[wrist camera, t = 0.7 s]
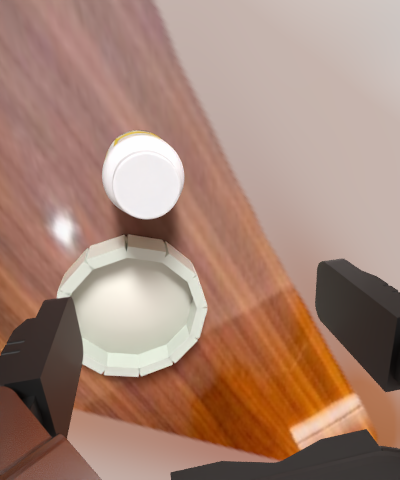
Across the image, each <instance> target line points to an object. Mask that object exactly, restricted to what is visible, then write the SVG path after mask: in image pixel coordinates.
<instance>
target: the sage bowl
mask: <svg viewBox="0 0 400 480" xmlns="http://www.w3.org/2000/svg"><path fill="white" fill-rule="evenodd" d="M64 297H72V299H73V302H74V305H75V310H76V314H77V319H78V323H79V328H80V332H81V337H82V342H83V362H82V364H83V365H85V366H87V367H89V368H91V369H92V370H94V371H96V372H98V373H100V374H102V373H103V372H104V375H111V376H129V377H138V376H139V373H140V375H141V376H144V375H147V374H149V373H152V372H155V371H157V370H160V369H163V368H165V367H168V366H171V365H173V362H174V363H176V362H177V361H178V360H179V359H180V358H181V357H182V356H183V355H184V354H185V353H186V352H187V351H188V350H189V349H190V348H191V347H192V346H193V345H194V344H195V343H196V342H197V341H198V339H197V338H200V334H201V330H202V327H203V323H204V320H205V316H206V312H207V303H206V300H205V297H204V294H203V291H202V288H201V285H200V282H199V279H198V276H197V274H196V271H195V269H194V267H193V264H192V263H191V261H190V260H189V259H187V258H186V257H185V256H184V255H182V254H181V253H180V252H179V251H177V250H176V249H175V248H174V247H172V246H171V245H170V244H169V243H167V242H166V241H165V242H163V240H161V239H155V238H149V237H142V236H136V235H130V234H128V236H125V235H122V236H119V237H116V238H113V239H110V240H107V241H104V242H101V243H98V244H95V245H92V246H90V248H89V249H88V248H87V249H86V250H85V251H84V252H83V254H82V255H81V256H80V257H79V258H78V259H77V260H76V261H75V263H74V264H73V265H72V266H71V267H70V268H69V269H68V271H67V272H66V273H65V274H64V277H63V279H62V282H61V284H60V287H59V290H58V293H57V298H64ZM172 361H173V362H172Z"/></svg>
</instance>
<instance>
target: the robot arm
mask: <svg viewBox="0 0 400 480" xmlns="http://www.w3.org/2000/svg"><path fill="white" fill-rule="evenodd" d="M315 306H316V311H317V314H318V317H319V319H320V320H321V322H322V323H323V324H324V325H325V326H326V327H327V328H328V329H329V330H330V331H331V333H332V334H333V335H334V336H335V337H336V338H337V339H338V340H339V341H340V343H341V344H342V345H343V346H344V347H345V348H346V349H347V350H348V351H349V352H350V354H351V355H352V356H353V357H354V358H355V359H356V360H357V361H358V362H359V363H360V365H361V366H362V367H363V368H364V369H365V370H366V371H367V372H368V373H369V374H370V376H371V377H372V378H373V379H374V380H375V381H376V382H377V383H378V384H379V385H380V387H381V388H382V389H383V390H384V391H385V392H389V391H394V390H399V389H400V292H398V290H396V289H395V288H393V287H392V286H388V284H387V283H386V282H384V281H383V280H381V279H380V278H378V277H377V276H374V275H371V274H369V273H366V272H364V271H361V270H360V269H358V268H357V267H355V266H354V265H352V264H351V263H350V262H348V261H347V260H345V259H337V260H329V261H322V262H320V263H319V265H318V268H317V284H316V301H315ZM82 362H83V342H82V337H81V332H80V328H79V323H78V319H77V314H76V310H75V305H74V302H73V299H72V297H64V298H57V299H50V300H45V301H44V302H43V304H42V306H41V308H40V310H39V312H38V314H37V316H36V318H32V319H27V320H25V321H24V322H23V323H22V324H21V325H20V326H18V327H17V328H16V329H15V330H14V331H13V333H12V334H11V336H10V338H9V340H8V342H7V345H5V347H4V349H3V351H2V352H1V356H0V480H102V479H101V478H100V477H99V476H98V475H97V474H96V472H95V471H94V470H93V469H92V468H91V467H90V466H89V464H88V463H87V462H86V461H85V460H84V459H83V457H82V456H81V455H80V454H79V453H78V452H77V450H76V449H75V448H74V447H73V446H72V445H71V443H70V442H69V441H68V440H67V435H68V430H69V425H70V420H71V415H72V410H73V406H74V401H75V396H76V391H77V386H78V381H79V377H80V372H81V367H82ZM171 480H400V449H398V448H392V447H385V446H378V444H377V443H376V441H375V440H374V439H373V437H372V436H371V435H370V433H369V432H368V431H367V429H365V430H361V431H356V432H352V433H347V434H343V435H338V436H334V437H329V438H325V439H321V440H319V441H317V442H315V443H314V444H312V445H310V446H308V447H306V448H305V449H303V450H301V451H299V452H297V453H295V454H294V455H292V456H290V457H288V458H286V459H284V460H283V461H280V462H276V463H262V462H230V461H221V462H216V463H212V464H207V465H203V466H198V467H194V468H189V469H184V470H180V471H175V472H171Z"/></svg>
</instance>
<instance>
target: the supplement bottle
mask: <svg viewBox="0 0 400 480" xmlns="http://www.w3.org/2000/svg"><path fill="white" fill-rule="evenodd" d="M102 181H103V186H104V189H105V192H106V194H107V195H108V197H109V199H110V200H111V201H112V203H113V204H114V205H115V206H116V207H118V208H119V209H120V210H122V211H124V212H126V213H127V214H129V215H131V216H133V217H136V218H139V219H155V218H158V217H161V216H163V215H164V214H166V213H167V212H169V211H170V210H171V209H172V208H173V206H174V205H175V204H176V202H177V200H178V198H179V196H180V194H181V192H182V189H183V185H184V170H183V166H182V163H181V160H180V158H179V156H178V155H177V153H176V152H175V150H174V149H173V148H172V147H171V146H170V145H168V144H167V143H166V142H165V141H163V140H162V139H161V138H159V137H158V136H156V135H155V134H153V133H150V132H148V131H143V130H133V131H129V132H126V133H124V134H122V135H120V136H119V137H118V138H116V139H115V140H114V142H113V143H112V144H111V146H110V148H109V150H108V152H107V155H106V158H105V161H104V164H103V169H102Z"/></svg>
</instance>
